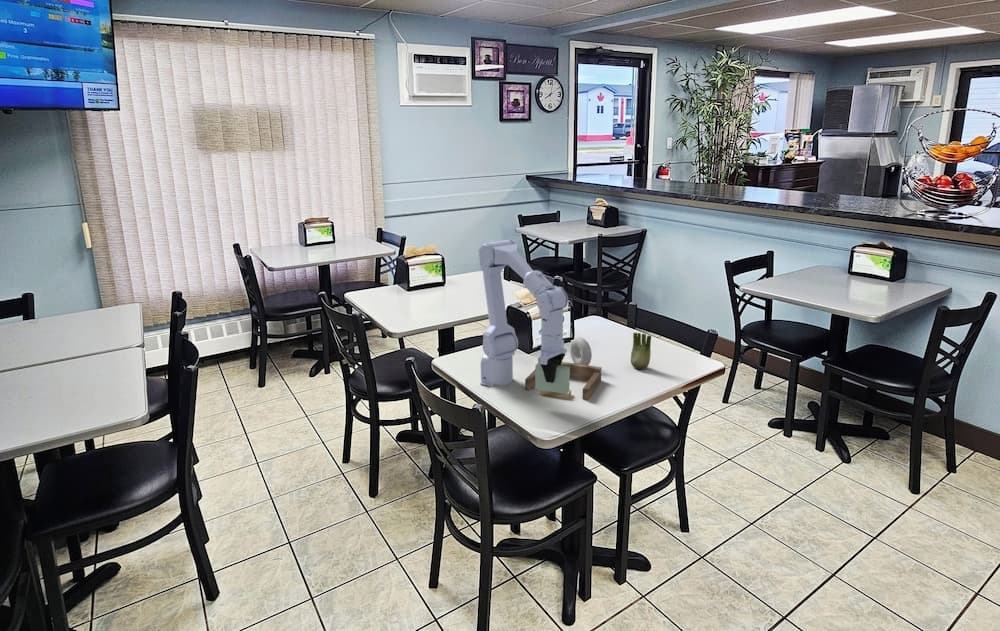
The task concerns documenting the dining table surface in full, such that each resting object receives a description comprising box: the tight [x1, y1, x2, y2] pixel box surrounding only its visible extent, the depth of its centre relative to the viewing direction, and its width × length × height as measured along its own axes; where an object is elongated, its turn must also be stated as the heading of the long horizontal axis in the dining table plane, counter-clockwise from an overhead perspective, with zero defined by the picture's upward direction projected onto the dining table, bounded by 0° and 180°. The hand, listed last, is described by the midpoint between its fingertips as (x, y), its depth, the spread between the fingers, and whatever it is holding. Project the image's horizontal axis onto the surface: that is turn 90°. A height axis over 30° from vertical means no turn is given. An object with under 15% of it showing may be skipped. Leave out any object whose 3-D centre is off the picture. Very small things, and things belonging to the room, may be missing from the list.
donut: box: [569, 336, 593, 366], centre depth 192 cm, size 10×4×10 cm, turn 25°
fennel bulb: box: [630, 332, 652, 370], centre depth 189 cm, size 6×5×12 cm
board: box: [534, 362, 571, 394], centre depth 161 cm, size 9×2×7 cm, turn 66°
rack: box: [524, 361, 603, 401], centre depth 178 cm, size 19×15×5 cm
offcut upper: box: [539, 389, 572, 400], centre depth 171 cm, size 8×3×2 cm, turn 69°
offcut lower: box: [537, 391, 575, 400], centre depth 172 cm, size 10×3×2 cm, turn 66°
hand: (551, 379), depth 162 cm, fingers closed on board, 2 cm apart
